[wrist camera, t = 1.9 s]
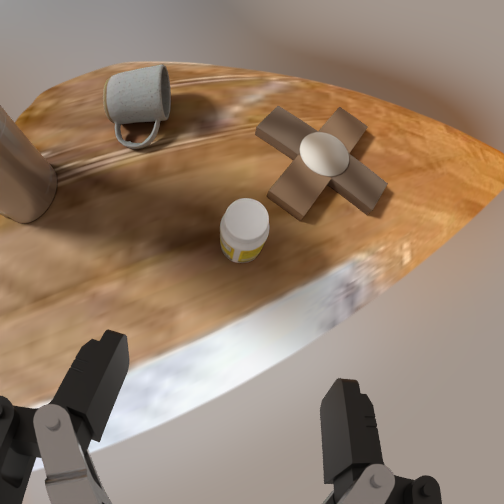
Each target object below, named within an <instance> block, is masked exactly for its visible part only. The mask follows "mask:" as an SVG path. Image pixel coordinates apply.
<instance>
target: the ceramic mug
mask: <svg viewBox="0 0 504 504" xmlns="http://www.w3.org/2000/svg"><path fill="white" fill-rule="evenodd" d="M170 104H171V92H170V81H169V75H168V71H167V68H166V66H165V65H157V66H152V67H146V68H141V69H136V70H132V71H127V72H122V73H119V74H116V75H114V76H111V77H110V78H109V79H108V80H107V81H106V83H105V86H104V90H103V105H104V110H105V113H106V116H107V118H108V119H109V120H110V121H111V122H113V123H115V134H116V137H117V139H118V140H119V142H120V143H121V144H122V145H124V146H126V147H128V148H131V149H140V148H144V147H146V146H148V145H149V144H150V143H151V142H152V141H153V140H154V139H155V137H156V135H157V133H158V130H159V126H160V121H164V120H167V119H168V117H169V113H170ZM152 121H155V125H154V128H153V131H152V133H151V135H150V136H149V137H148V138H147V139H146V140H145V141H144V142H143V143H132V142H131V141H129V142H127V141H125V140H123V138H122V135H121V131H120V126H121V124H127V123H135V122H152Z"/></svg>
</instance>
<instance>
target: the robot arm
mask: <svg viewBox="0 0 504 504" xmlns="http://www.w3.org/2000/svg"><path fill="white" fill-rule="evenodd" d="M56 188H57V176H56V172H55V170H54V169H53V167H52V166H51V165H50V164H49V163H48V162H47V161H46V159H45V158H44V157H43V156H42V155H41V153H40V152H39V151H38V150H37V149H36V148H35V147H34V145H33V144H32V143H31V142H30V141H29V140H28V138H27V137H26V136H25V135H24V134H23V132H22V131H21V130H20V129H19V128H18V126H17V125H16V124H15V123H14V121H13V120H12V119H11V118H10V116H9V115H8V114H7V113H6V111H5V110H4V109H3V108H2V107H1V105H0V214H1V215H3V216H4V217H6V218H7V217H10V218H11V219H13V220H15V221H17V222H19V223H28V222H31V221H34V220H36V219H37V218H38V217H40V216H41V215H42V214H43V213H44V212H45V211H46V210H47V208H48V207H49V206H50V204H51V202H52V200H53V198H54V195H55V193H56ZM128 368H129V352H128V342H127V336H126V335H125V334H121V333H118V332H115V331H112V330H106V331H105V333H104V334H103V336H102V338H101V340H100V341H97V340H94V339H91V340H90V341H89V342H87V343H86V344H85V345H84V346H82V347H81V349H80V351H79V353H78V354H77V356H76V359H75V360H74V361H73V363H72V365H71V368H69V370H68V372H67V374H66V376H65V378H64V379H63V381H62V383H61V385H60V387H59V389H58V391H57V393H56V394H55V396H54V398H53V400H52V401H51V402H50V403H49V404H47V405H44V406H42V407H40V408H37V409H32V408H25V407H19V406H13V405H12V403H11V402H10V401H9V400H8V399H7V398H5V397H3V396H0V504H22V501H23V497H24V494H25V491H26V487H27V484H28V481H29V478H30V475H31V472H32V469H33V466H34V463H35V460H36V457H39V458H42V461H43V464H44V468H45V471H46V476H47V478H46V480H45V485H46V489H47V493H48V496H49V498H50V501H51V504H112V503H111V501H110V499H109V497H108V496H107V494H106V492H105V490H104V488H103V486H102V483H101V481H100V479H99V476H98V474H97V471H96V469H95V466H94V464H93V461H92V458H91V456H90V453H89V450H88V447H89V444H90V441H91V439H92V440H95V441H97V442H100V440H101V437H102V434H103V432H104V429H105V427H106V424H107V421H108V419H109V416H110V414H111V411H112V409H113V406H114V404H115V401H116V399H117V396H118V394H119V391H120V389H121V386H122V384H123V382H124V379H125V377H126V374H127V372H128ZM320 418H321V432H322V449H323V468H324V484H334V490H333V491H332V492H331V493H330V495H329V496H328V497H327V498H326V500H325V501H324V502H323V503H322V504H442V501H441V493H440V487H439V484H438V482H437V481H436V480H435V479H434V478H433V477H431V476H422V477H419V478H418V479H416V480H411V479H407V478H402V477H399V476H395V475H393V472H391V470H390V469H389V468H388V467H387V466H385V465H384V462H383V459H382V452H381V446H380V440H379V435H378V429H377V428H376V427H377V423H376V419H375V414H374V408H373V405H372V403H371V401H370V399H369V398H368V396H367V395H366V394H361V393H360V388H359V384H358V381H357V380H350V379H341V378H338V379H337V380H336V381H335V382H334V384H333V385H332V387H331V388H330V390H329V391H328V393H327V394H326V395H325V397H324V398H323V400H322V403H321V407H320Z"/></svg>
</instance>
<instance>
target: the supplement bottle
mask: <svg viewBox="0 0 504 504" xmlns="http://www.w3.org/2000/svg"><path fill="white" fill-rule="evenodd" d="M268 235H269V215H268V212H267V210H266V208H265V207H264V206H263V205H262V204H261V203H260V202H258V201H256V200H254V199H250V198H242V199H239V200H236V201H234V202H233V203H232V204H231V205H230V206H229V207H228V208H227V210H226V213H225V214H224V215H223V217H222V220H221V223H220V246H221V250H222V252H223V254H224V255H225V256H226V257H227V258H228V259H229V260H231V261H233V262H236V263H247V262H250V261H252V260H253V259H255V258H256V257H257V256H258V255H259V253H260V251H261V249H262V247H263V245H264V243H265V241H266V240H267V237H268Z"/></svg>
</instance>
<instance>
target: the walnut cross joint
mask: <svg viewBox="0 0 504 504" xmlns="http://www.w3.org/2000/svg"><path fill="white" fill-rule="evenodd" d="M367 127H368V126H366V125H365V124H364V123H362V122H361V121H359V120H358V119H357V118H355V117H354V116H352V115H351V114H349V113H348V112H347V111H345V110H344V109H342V108H341V107H339V108H338V109H337V110H336V111H335V113H334V114H333V115H332V116H331V117H330V118H329V119H328V121H327V122H326V123H325V124H324V125H323V126H322V128H321V129H320V130H319V131H317V130H315V129H314V128H312V127H311V126H309V125H308V124H306V123H305V122H303V121H302V120H300V119H299V118H297V117H295V116H294V115H292V114H291V113H289V112H288V111H286V110H284V109H283V108H281V107H280V106H277V107H276V108H275V109H274V110H273V111H272V112H271V113H270V114H269V115H268V116H267V117H266V118H265V119H264V120H263V121H262V122H261V123H260V124H259V125H258V126H257V127H256V132H255V135H256V136H258V137H260V138H261V139H263V140H264V141H266V142H267V143H269V144H270V145H272V146H273V147H275V148H276V149H278V150H279V151H281V152H282V153H284V154H285V155H286V156H288V157H289V158H291V159H292V160H294V161H293V162H292V163H291V164H290V165H289V167H288V168H287V169H286V170H285V171H284V173H283V174H282V175H281V176H280V177H279V179H278V180H277V181H276V182H275V184H274V185H273V186H272V187H271V188H270V190H269V191H268V194H267V197H268V198H269V199H270V200H272V201H273V202H275V203H276V204H277V205H279V206H280V207H281V208H283V209H284V210H286V211H287V212H288V213H290V214H291V215H292V216H294V217H295V218H296V219H298V220H299V221H301V219H302V218H303V217H304V215H305V214H306V213H307V211H308V210H309V209H310V207H311V206H312V204H313V203H314V202H315V200H316V199H317V197H318V196H319V195H320V193H321V192H322V191H323V189H324V188H325V186H326V185H328V186H330V187H331V188H332V189H334V190H335V191H336V192H338V193H339V194H340V195H342V196H343V197H344V198H346V199H347V200H348V201H349V202H351V203H352V204H353V205H355V206H356V207H357V208H358V209H360V210H361V211H362V212H363V213H365V214H366V215H367V214H368V213H370V212H371V211H372V210H373V209H374V207H375V205H376V203H377V202H378V200H379V198H380V197H381V195H382V193H383V191H384V189H385V188H386V186H387V184H388V183H386V182H385V181H384V180H383V179H381V178H380V177H379V176H378V175H376V174H375V173H374V172H373V171H371V170H370V169H369V168H367V167H366V166H365V165H364V164H362V163H361V162H360V161H358V160H357V159H356V158H354V157H353V156H352V155H350V154H349V153H350V152H351V150H352V149H353V147H354V146H355V145H356V143H357V142H358V140H359V139H360V137H361V136H362V135H363V133H364V132H365V130H366V129H367Z"/></svg>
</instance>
